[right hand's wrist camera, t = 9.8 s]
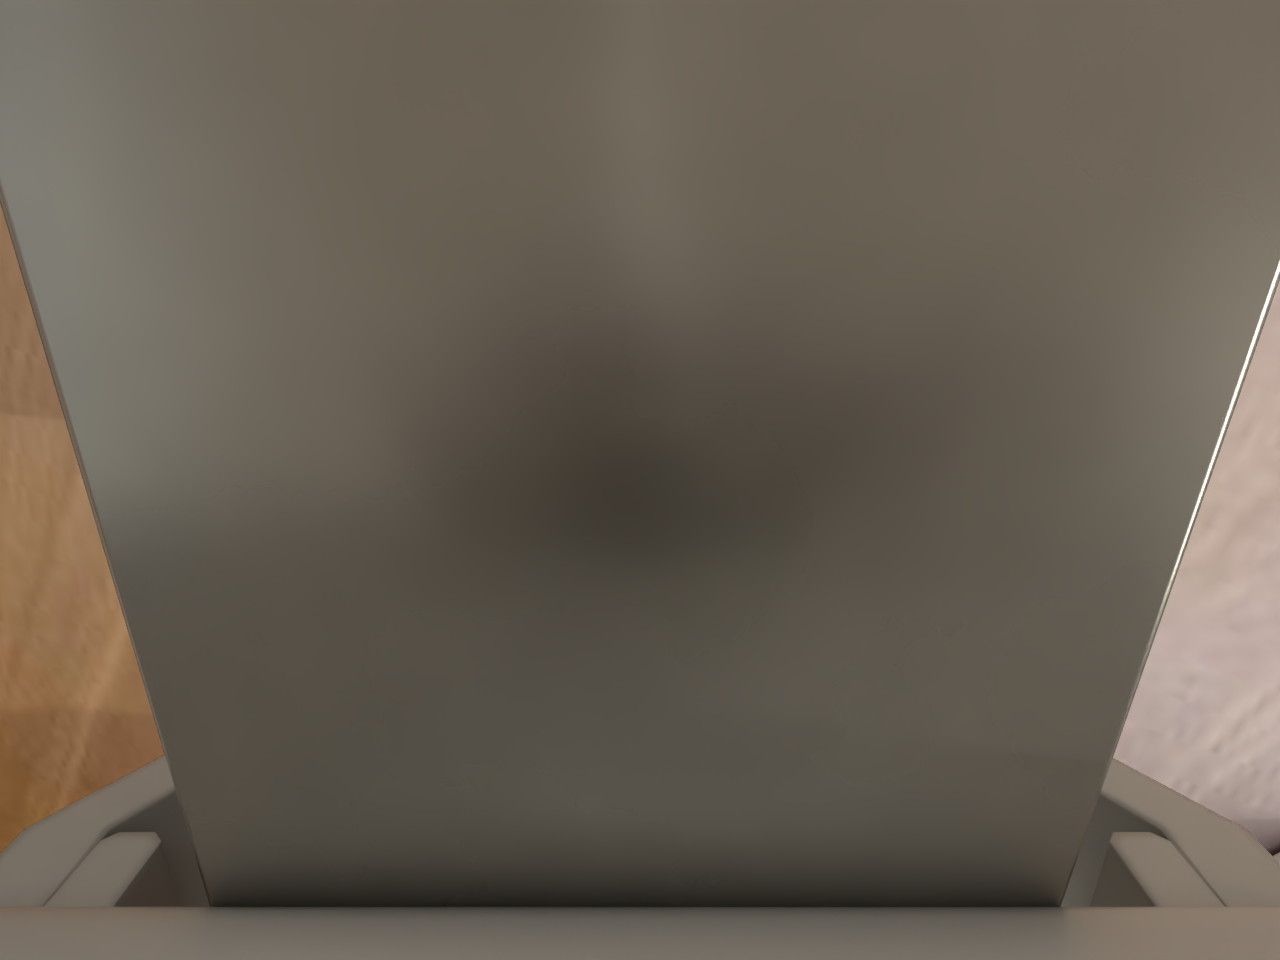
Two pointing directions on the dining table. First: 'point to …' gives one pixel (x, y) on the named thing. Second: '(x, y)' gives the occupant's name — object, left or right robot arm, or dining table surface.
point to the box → (643, 421)
